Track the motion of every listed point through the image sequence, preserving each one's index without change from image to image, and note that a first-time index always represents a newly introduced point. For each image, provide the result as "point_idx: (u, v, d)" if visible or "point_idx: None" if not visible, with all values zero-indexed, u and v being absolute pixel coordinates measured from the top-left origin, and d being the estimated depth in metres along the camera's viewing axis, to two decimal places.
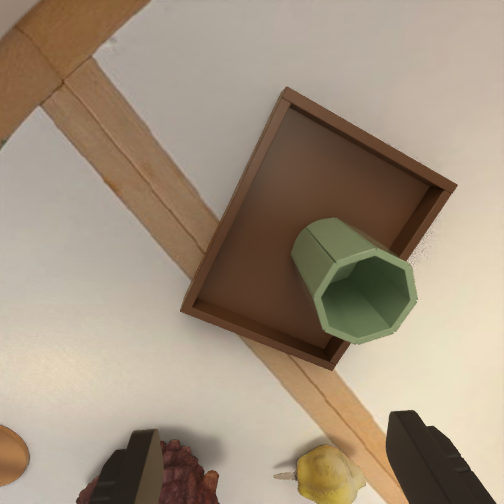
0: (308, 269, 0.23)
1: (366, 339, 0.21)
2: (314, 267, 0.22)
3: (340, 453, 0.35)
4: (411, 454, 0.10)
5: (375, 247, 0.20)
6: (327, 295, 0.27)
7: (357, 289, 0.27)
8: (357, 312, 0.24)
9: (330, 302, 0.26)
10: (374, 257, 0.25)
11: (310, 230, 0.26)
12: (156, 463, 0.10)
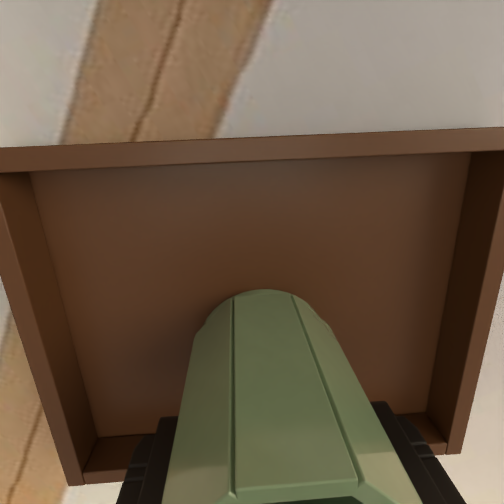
0: (260, 383, 0.09)
1: None
2: (279, 401, 0.08)
3: None
4: None
5: None
6: None
7: None
8: None
9: None
10: None
11: (299, 310, 0.13)
12: None
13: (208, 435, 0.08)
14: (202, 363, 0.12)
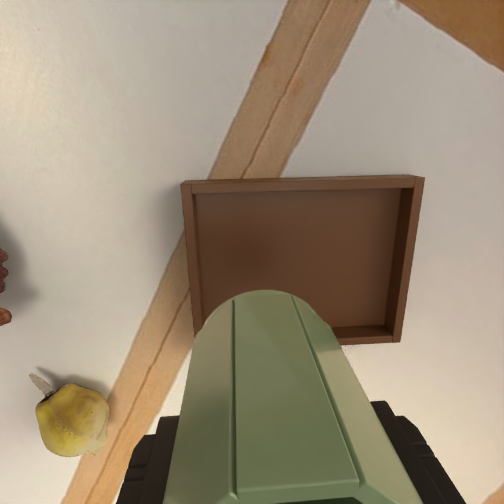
0: (261, 384, 0.09)
1: None
2: (280, 402, 0.08)
3: (108, 413, 0.32)
4: None
5: None
6: None
7: None
8: None
9: None
10: None
11: (299, 310, 0.13)
12: None
13: (209, 436, 0.08)
14: (203, 364, 0.12)
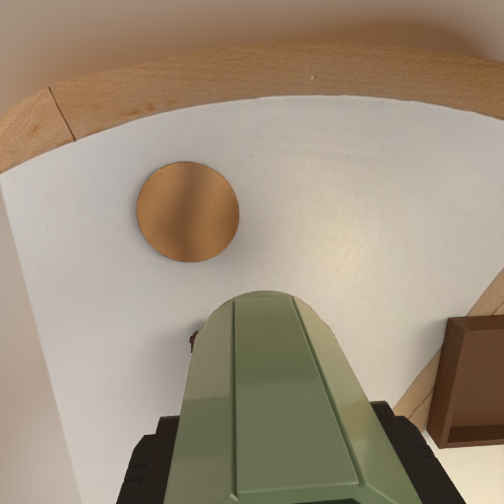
0: (261, 386, 0.09)
1: None
2: (280, 403, 0.08)
3: None
4: None
5: None
6: None
7: None
8: None
9: None
10: None
11: (300, 311, 0.13)
12: None
13: (209, 437, 0.08)
14: (203, 365, 0.12)
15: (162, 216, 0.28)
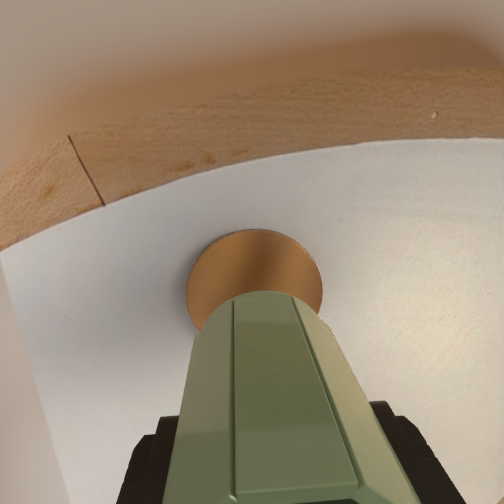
0: (260, 385, 0.09)
1: None
2: (279, 404, 0.08)
3: None
4: None
5: None
6: None
7: None
8: None
9: None
10: None
11: (299, 311, 0.13)
12: None
13: (208, 437, 0.08)
14: (202, 365, 0.12)
15: (220, 301, 0.21)
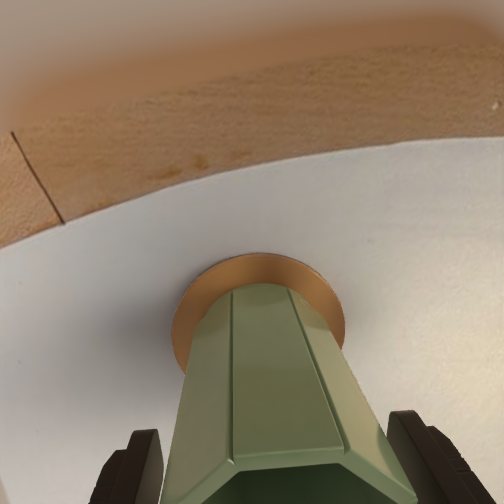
0: (256, 367, 0.10)
1: None
2: (274, 382, 0.09)
3: None
4: (412, 454, 0.10)
5: None
6: None
7: None
8: (220, 489, 0.11)
9: None
10: None
11: (294, 302, 0.14)
12: (156, 463, 0.10)
13: (208, 413, 0.09)
14: (202, 351, 0.12)
15: None
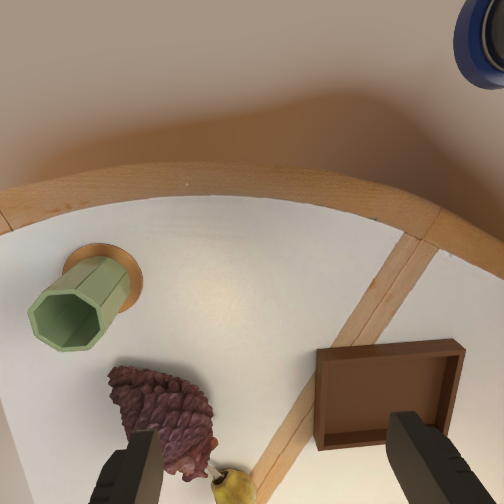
0: (68, 277, 0.31)
1: (42, 339, 0.29)
2: (69, 279, 0.30)
3: (255, 488, 0.48)
4: (412, 454, 0.10)
5: (101, 305, 0.29)
6: (68, 300, 0.35)
7: (86, 315, 0.36)
8: (63, 324, 0.32)
9: (62, 305, 0.34)
10: None
11: (104, 262, 0.35)
12: (156, 463, 0.10)
13: None
14: None
15: None
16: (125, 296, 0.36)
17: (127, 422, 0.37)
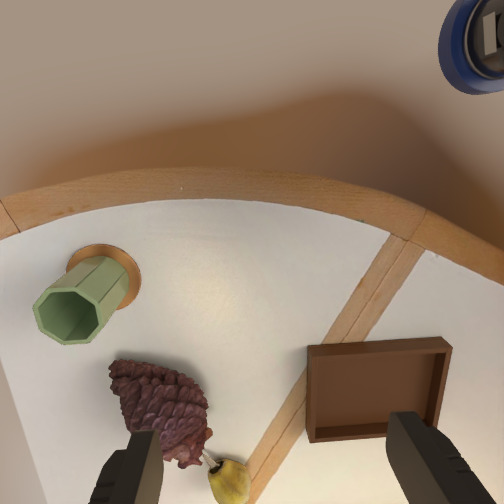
0: (70, 275, 0.33)
1: (46, 333, 0.32)
2: (71, 278, 0.33)
3: (250, 478, 0.51)
4: (412, 454, 0.10)
5: (99, 302, 0.32)
6: (70, 297, 0.37)
7: (87, 311, 0.38)
8: (66, 319, 0.35)
9: (65, 301, 0.36)
10: None
11: (104, 261, 0.37)
12: (156, 463, 0.10)
13: None
14: None
15: None
16: (124, 293, 0.38)
17: (126, 411, 0.39)
